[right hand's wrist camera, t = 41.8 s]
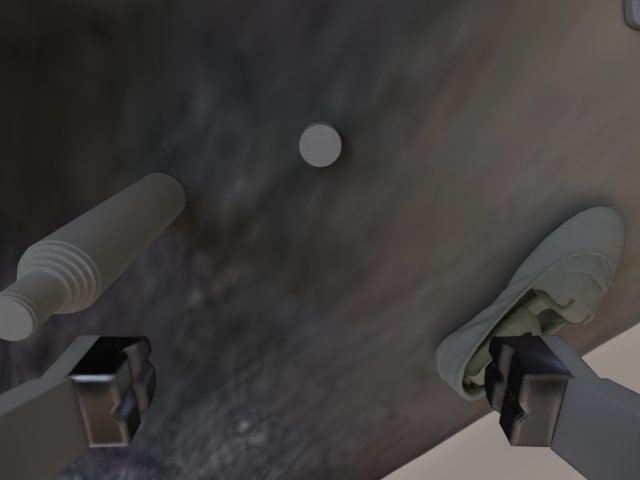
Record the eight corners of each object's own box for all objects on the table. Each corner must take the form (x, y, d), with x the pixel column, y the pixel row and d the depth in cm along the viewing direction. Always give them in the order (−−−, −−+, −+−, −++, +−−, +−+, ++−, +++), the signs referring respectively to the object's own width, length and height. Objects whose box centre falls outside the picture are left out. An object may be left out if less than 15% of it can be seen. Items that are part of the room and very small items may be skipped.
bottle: (192, 215, 44) (71, 352, 22) (146, 223, 44) (-16, 366, 23) (177, 168, 42) (31, 269, 21) (129, 177, 42) (-62, 286, 21)
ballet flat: (639, 237, 44) (702, 271, 37) (465, 385, 51) (489, 438, 44) (587, 187, 42) (643, 211, 35) (414, 347, 49) (431, 396, 42)
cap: (349, 139, 41) (350, 143, 39) (322, 170, 42) (322, 176, 40) (318, 112, 40) (318, 114, 38) (291, 144, 41) (290, 148, 39)
